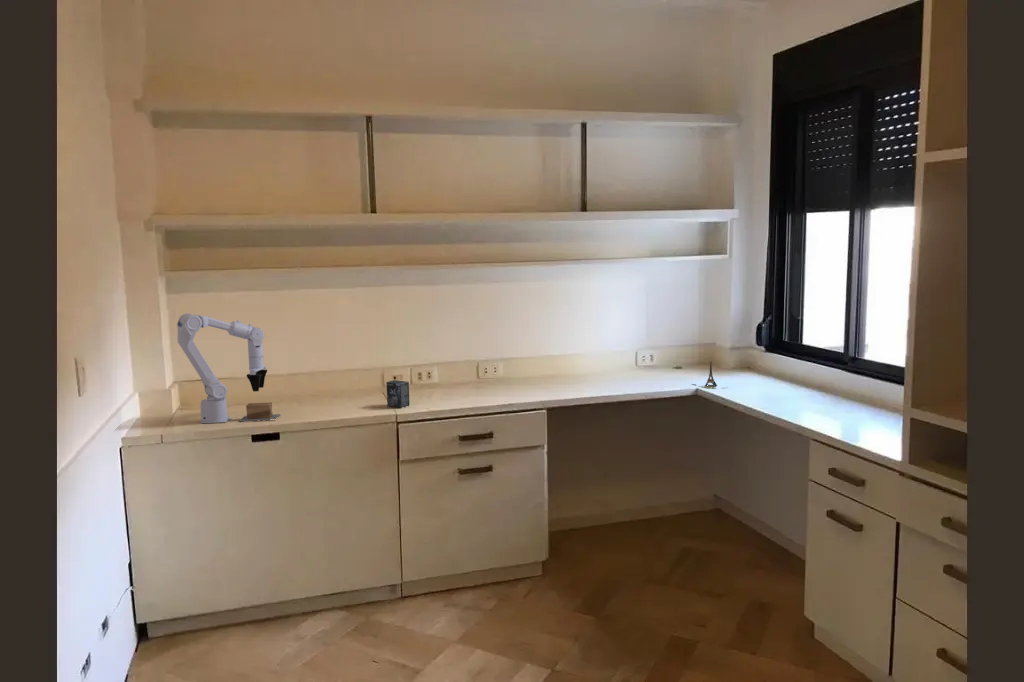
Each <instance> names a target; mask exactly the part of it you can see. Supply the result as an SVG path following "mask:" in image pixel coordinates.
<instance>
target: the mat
mask: <svg viewBox="0 0 1024 682" xmlns="http://www.w3.org/2000/svg"><path fill="white" fill-rule="evenodd" d="M277 417H278V418H279V417H281V414H280V413H278V414H276V413H275V414H273V416H272V417H271V418H262V419H247V415H244V416H243V417H242V418H241V419H240V420H238V423H244V422H243V421H253V422H258V421H257V420H270V419H276V418H277ZM278 418H277V419H278Z"/></svg>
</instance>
